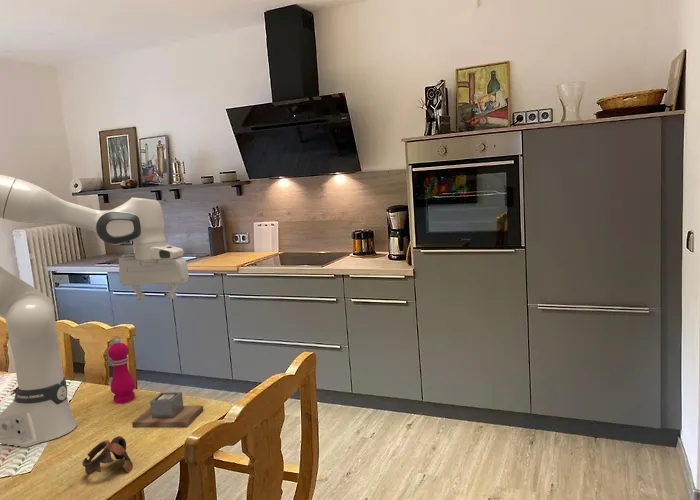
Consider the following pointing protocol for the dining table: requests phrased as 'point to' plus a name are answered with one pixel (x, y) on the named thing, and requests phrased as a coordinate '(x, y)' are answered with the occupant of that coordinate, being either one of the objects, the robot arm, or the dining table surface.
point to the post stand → (179, 421)
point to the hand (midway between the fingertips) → (156, 299)
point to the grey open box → (167, 406)
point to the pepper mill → (121, 373)
